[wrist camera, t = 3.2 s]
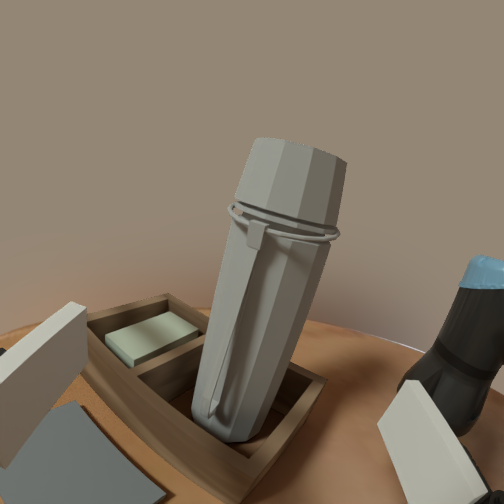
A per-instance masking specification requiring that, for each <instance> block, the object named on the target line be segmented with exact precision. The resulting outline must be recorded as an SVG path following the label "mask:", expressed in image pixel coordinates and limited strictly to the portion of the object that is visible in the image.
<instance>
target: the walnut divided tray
mask: <svg viewBox="0 0 504 504" xmlns="http://www.w3.org/2000/svg"><path fill="white" fill-rule="evenodd" d="M169 311H170V312H172V313H174V314H175V315H177V316H178V317H180V318H182V319H183V320H185V321H187V322H188V323H190V324H192V325H193V326H195V327H197V328H198V329H199V332H198V337H197V338H196V339H194V340H192V341H190V342H188V343H186V344H184V345H181V346H179V347H177V348H175V349H173V350H171V351H169V352H166V353H164V354H162V355H160V356H158V357H155V358H153V359H151V360H149V361H146V362H144V363H142V364H140V365H137V366H135V367H133V368H130V369H128V368H127V367H126V366H125V365H124V364H123V363H122V362H121V361H120V360H119V359H118V358H117V357H116V356H115V355H114V354H113V353H112V352H111V351H110V350H109V349H108V348H107V347H106V346H105V334H108V333H111V332H114V331H117V330H120V329H122V328H125V327H128V326H131V325H134V324H136V323H139V322H142V321H145V320H147V319H150V318H153V317H156V316H158V315H161V314H164V313H167V312H169ZM208 323H209V317H207V316H205V315H204V314H202V313H200V312H199V311H197V310H195V309H194V308H192V307H190V306H189V305H187V304H185V303H183V302H182V301H181V300H179V299H177V298H176V297H174V296H172V295H171V294H169V293H167V294H163V295H159V296H156V297H152V298H148V299H144V300H141V301H137V302H133V303H129V304H126V305H122V306H118V307H114V308H110V309H106V310H103V311H99V312H95V313H91V314H87V345H88V361H89V363H88V364H87V365H86V366H85V367H84V368H83V370H82V371H81V372H80V374H81V375H82V377H83V378H84V379H85V380H86V381H87V383H88V384H89V385H90V386H91V387H92V389H93V390H94V391H95V392H96V393H97V394H98V396H99V397H100V398H101V399H102V400H103V401H104V402H105V403H106V405H107V406H108V407H109V408H110V409H111V410H112V411H113V412H114V413H115V414H116V415H117V416H118V417H119V418H120V419H121V420H122V421H123V422H124V423H125V424H126V425H127V426H128V427H129V428H130V429H131V430H132V431H133V432H134V433H135V434H136V435H137V436H138V437H139V438H140V439H141V440H142V441H144V442H145V443H146V444H147V445H148V446H149V447H150V448H151V449H152V450H154V451H155V452H156V453H157V454H158V455H159V456H161V457H162V458H163V459H164V460H165V461H167V462H168V463H169V464H170V465H172V466H173V467H174V468H175V469H177V470H178V471H179V472H181V473H182V474H183V475H185V476H186V477H187V478H189V479H190V480H191V481H193V482H194V483H195V484H197V485H198V486H200V487H201V488H203V489H204V490H206V491H207V492H208V493H210V494H211V495H213V496H215V497H216V498H218V499H219V500H221V501H222V502H224V503H226V504H240V503H241V502H242V501H243V500H244V499H245V498H246V497H247V496H248V494H249V493H250V492H251V491H252V490H253V489H254V488H255V486H256V485H257V484H258V483H259V482H260V480H261V479H262V478H263V477H264V476H265V474H266V473H267V472H268V471H269V469H270V468H271V467H272V466H273V464H274V463H275V462H276V460H277V459H278V458H279V457H280V455H281V454H282V453H283V451H284V450H285V449H286V447H287V446H288V445H289V443H290V442H291V440H292V439H293V438H294V436H295V435H296V433H297V432H298V431H299V429H300V428H301V426H302V425H303V423H304V422H305V420H306V419H307V417H308V415H309V414H310V412H311V410H312V408H313V406H314V405H315V403H316V401H317V399H318V397H319V395H320V393H321V392H322V390H323V388H324V386H325V384H326V382H327V380H328V379H325V378H323V377H321V376H319V375H317V374H315V373H313V372H311V371H309V370H306V369H304V368H302V367H300V366H298V365H296V364H294V363H292V362H289V365H288V367H287V370H286V372H285V375H284V377H283V379H282V382H281V384H280V387H279V389H278V391H277V394H276V396H275V398H274V401H273V403H272V405H271V407H270V408H272V409H274V410H276V411H278V412H280V413H282V414H283V415H285V416H286V417H285V418H284V419H283V420H282V421H281V423H280V424H279V425H278V426H277V428H276V429H275V430H274V431H273V432H272V433H271V435H270V436H269V437H268V438H267V439H266V440H265V442H264V443H263V444H262V445H261V446H260V447H259V448H258V450H257V451H256V452H255V453H254V454H253V455H252V456H251V457H250V458H249V459H248V458H246V457H244V456H243V455H241V454H239V453H238V452H236V451H235V450H233V449H231V448H230V447H228V446H227V445H225V444H224V443H222V442H221V441H219V440H218V439H216V438H215V437H213V436H212V435H210V434H209V433H207V432H206V431H204V430H203V429H202V428H200V427H199V426H197V425H196V424H195V423H193V422H192V421H191V420H189V419H188V418H186V417H185V416H184V415H183V414H181V413H180V412H179V411H177V410H176V409H175V408H174V407H172V406H171V405H170V404H168V403H167V402H169V401H171V400H173V399H174V398H176V397H177V396H179V395H181V394H182V393H184V392H186V391H187V390H189V389H190V388H192V387H194V386H195V385H196V381H197V376H198V371H199V366H200V361H201V356H202V352H203V347H204V342H205V337H206V332H207V328H208Z"/></svg>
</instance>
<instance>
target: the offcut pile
mask: <svg viewBox="0 0 504 504" xmlns="http://www.w3.org/2000/svg"><path fill="white" fill-rule="evenodd" d="M198 332H199V329H198V328H197V327H195V326H193V325H192V324H190V323H188V322H187V321H185V320H183V319H182V318H180V317H178V316H177V315H175V314H174V313H172V312H170V311H169V312H167V313H164V314H161V315H158V316H156V317H153V318H150V319H147V320H145V321H142V322H139V323H136V324H134V325H131V326H128V327H125V328H122V329H120V330H117V331H114V332H111V333H108V334H105V346H106V347H107V348H108V349H109V350H110V351H111V352H112V353H113V354H114V355H115V356H116V357H117V358H118V359H119V360H120V361H121V362H122V363H123V364H124V365H125V366H126V367H127V368H128V369H130V368H133V367H135V366H137V365H140V364H142V363H144V362H146V361H149V360H151V359H153V358H155V357H158V356H160V355H162V354H164V353H166V352H169V351H171V350H173V349H175V348H177V347H179V346H181V345H184V344H186V343H188V342H190V341H192V340H194V339H196V338H197V337H198Z"/></svg>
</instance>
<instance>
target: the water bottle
mask: <svg viewBox="0 0 504 504" xmlns="http://www.w3.org/2000/svg"><path fill="white" fill-rule="evenodd" d="M346 166H347V163H346V162H345V161H343V160H342V159H340V158H339V157H337V156H335V155H332V154H330V153H327V152H324V151H322V150H319V149H317V148H314V147H310V146H306V145H303V144H298V143H295V142H290V141H287V140H280V139H273V138H265V137H264V138H257V139H255V141H254V144H253V147H252V150H251V152H250V155H249V158H248V160H247V163H246V166H245V169H244V172H243V174H242V177H241V180H240V183H239V185H238V189H237V191H236V194H235V198H237V199H238V200H240V201H238V202H235V203H232V204H231V205H230V206H229V207H228V208H227V210H228V213H229V215H230V216H231V217H232V222H231V227H230V231H229V235H228V239H227V243H226V248H225V252H224V256H223V260H222V265H221V269H220V273H219V278H218V282H217V287H216V291H215V296H214V300H213V305H212V309H211V314H210V318H209V323H208V328H207V332H206V337H205V342H204V347H203V352H202V356H201V361H200V366H199V371H198V376H197V381H196V386H195V391H194V396H193V402H192V407H191V411H192V416H193V420H194V423H195V424H196V425H197V426H199V427H200V428H202V429H203V430H204V431H206V432H207V433H209V434H210V435H212V436H213V437H215V438H216V439H218V440H220V441H223V442H226V443H229V442H241V441H247V440H249V439H250V438H252V437H253V436H255V435H256V434H257V433H259V432H260V429H261V427H262V425H263V423H264V421H265V419H266V416H267V414H268V412H269V410H270V407H271V405H272V403H273V401H274V398H275V396H276V394H277V391H278V389H279V387H280V384H281V382H282V379H283V377H284V375H285V372H286V370H287V367H288V365H289V362H290V360H291V357H292V355H293V352H294V350H295V347H296V344H297V342H298V339H299V337H300V334H301V331H302V329H303V326H304V323H305V321H306V318H307V315H308V312H309V309H310V307H311V303H312V301H313V298H314V295H315V292H316V290H317V287H318V283H319V281H320V278H321V275H322V271H323V268H324V265H325V262H326V259H327V256H328V253H329V249H330V247H331V244H330V242H329V241H332V240H336V239H337V237H339V236H340V231H339V230H338V229H337V227H336V224H337V219H338V214H339V208H340V203H341V197H342V191H343V185H344V179H345V173H346ZM234 207H237V208H238V209H240V210H242V211H243V214H242V215H238V216H237V215H236V214H235V213H234V212H233V208H234ZM325 234H332V236H328V237H327V236H326V237H324V236H325Z"/></svg>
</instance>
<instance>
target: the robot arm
mask: <svg viewBox="0 0 504 504" xmlns="http://www.w3.org/2000/svg"><path fill="white" fill-rule="evenodd" d="M459 286H460V288H459V290H458V292H457V295H456V297H455V300H454V302H453V304H452V307H451V309H450V311H449V313H448V315H447V318H446V320H445V322H444V324H443V326H442V328H441V330H440V332H439V335H438V337H437V339H436V341H435V342H434V344H433V346H432V347H431V349H430V350H429V351H428V352H427V353H426V354H425V355H424V356H423V357H422V358H421V359H420V360H418V361H417V362H416V363H415V364H414V365H413V366H412V367H411V368H410V369H409V370H408V371H407V372H406V373H405V375H404V376H403V378H402V380H401V382H400V383H399V385H398V388H397V395H396V397H395V398H394V400H393V401H392V403H391V404H390V406H389V407H388V409H387V410H386V412H385V413H384V415H383V416H382V417H381V419H380V420H379V422H378V423H377V425H378V428H379V430H380V433H381V435H382V437H383V440H384V442H385V445H386V447H387V450H388V452H389V455H390V457H391V460H392V462H393V465H394V467H395V470H396V472H397V475H398V478H399V480H400V483H401V485H402V488H403V491H404V493H405V496H406V499H407V502H408V504H504V491H501V490H497V491H494V492H492V490H491V489H490V487H489V485H488V484H487V482H486V480H485V478H484V477H483V475H482V473H481V471H480V470H479V468H478V466H476V463H475V461H474V460H473V459H472V456H471V455H470V453H469V451H468V450H467V448H466V447H465V446H464V445H463V444H461V443H460V442H459V441H458V439H457V437H459V436H462V435H464V434H466V433H467V432H468V431H469V430H470V429H471V428H472V427H473V425H474V424H475V423H476V421H477V420H478V418H479V416H480V414H481V411H482V409H483V406H484V403H485V401H486V398H487V395H488V392H489V389H490V386H491V383H492V381H493V379H494V377H495V376H496V374H497V372H498V371H499V369H500V368H501V366H502V365H504V261H502V260H498V259H495V258H491V257H488V256H484V255H477V256H475V257H473V258H472V259H471V260H470V262H469V264H468V266H467V269H466V271H465V274H464V276H463V279H462V281H461V282H460V283H459ZM86 309H87V308H86V307H84V306H82V305H79V304H77V303H74V302H72V301H71V302H70V303H68V304H67V305H66V306H64V307H63V308H61V309H60V310H59V311H57V312H56V313H55V314H54V315H52V316H51V317H49V318H48V319H47V320H45V321H44V322H43V323H42V324H40V325H39V326H38V327H36V328H35V329H34V330H33V331H31V332H30V333H29V334H27V335H26V336H25V337H24V338H22V339H21V340H20V341H19V342H17V343H16V344H15V345H14V346H12V347H11V348H10V349H9V350H8V351H6V350H5V349H3V348H0V466H1V467H2V468H3V469H5V470H6V469H7V467H8V466H9V465H10V463H11V462H12V460H13V459H14V457H15V456H16V455H17V453H18V452H19V450H20V449H21V448H22V446H23V445H24V444H25V442H26V441H27V440H28V438H29V437H30V435H31V434H32V433H33V431H34V430H35V429H36V427H37V426H38V425H39V424H40V422H41V421H42V420H43V418H44V417H45V416H46V414H47V413H48V412H49V411H50V409H51V408H52V407H53V405H54V404H55V403H56V402H57V400H58V399H59V398H60V397H61V395H62V394H63V393H64V392H65V390H66V389H67V388H68V387H69V385H70V384H71V383H72V382H73V381H74V379H75V378H76V377H77V376H78V375H79V373H80V372H81V371H82V370H83V368H84V367H85V366H86V365H87V364H88V363H89V361H88V345H87V310H86Z"/></svg>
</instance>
